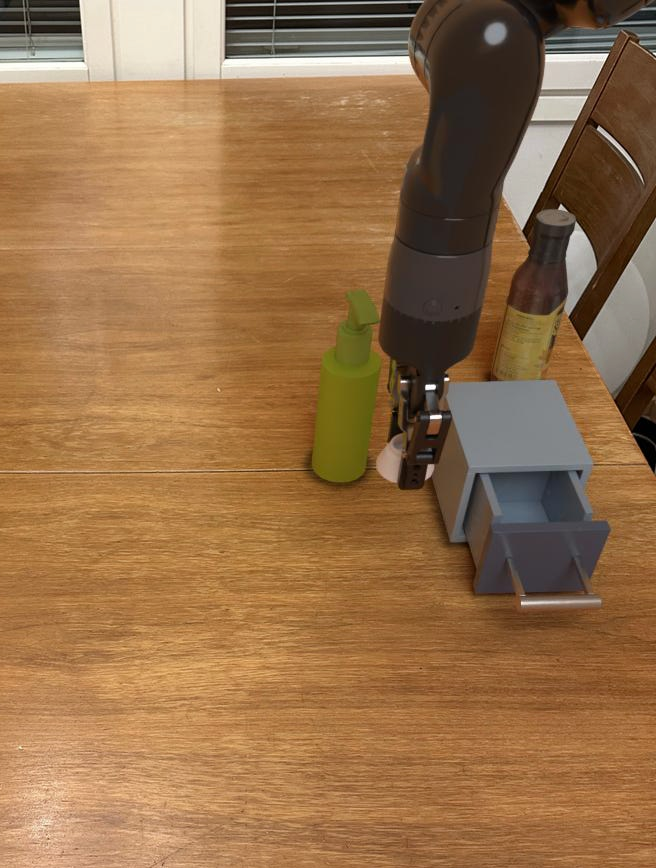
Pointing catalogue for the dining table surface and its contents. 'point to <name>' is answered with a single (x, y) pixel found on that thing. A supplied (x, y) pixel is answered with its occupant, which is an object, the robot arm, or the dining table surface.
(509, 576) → the compartment
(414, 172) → the robot arm
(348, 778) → the dining table surface
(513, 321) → the sauce bottle
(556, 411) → the drawer unit
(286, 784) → the dining table surface
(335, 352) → the soap dispenser
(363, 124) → the dining table surface
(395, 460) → the white jar
